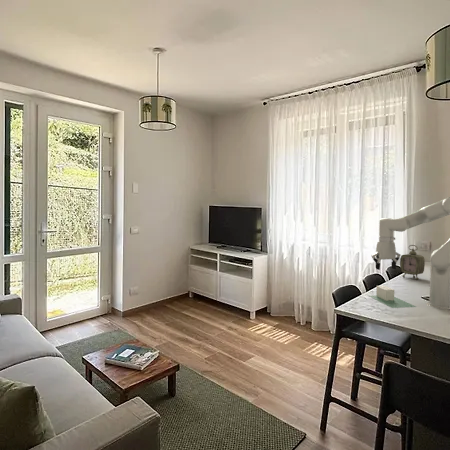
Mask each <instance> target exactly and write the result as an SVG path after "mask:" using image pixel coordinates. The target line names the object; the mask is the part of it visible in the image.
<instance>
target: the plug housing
mask: <svg viewBox="0 0 450 450" xmlns="http://www.w3.org/2000/svg"><path fill="white" fill-rule="evenodd" d="M375 295H376V296H378V297H380V298H382V299H384V300H386V301H388V300H394V297H395V289H393V288H391V287H390V286H389V287H388V286H386V285H376V293H375Z"/></svg>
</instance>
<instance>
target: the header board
mask: <svg viewBox="0 0 450 450" xmlns="http://www.w3.org/2000/svg"><path fill="white" fill-rule="evenodd" d="M369 297H370V298H372V299H374V300H376V301H378V302H380V303H382V304H383V305H386V306H387V307H389V308H392V309H394V308H395V309H396V308H397V309H398V308H416V307H417V306H416V305H413V304H412V303H409V302H407V301H406V300H405V301H404V300H402V299H400V298H398V297H395V296H394V300H388V301H386V300H384V299H382V298H380V297H378V296H376V294H375V295H374V294H373V295H369Z"/></svg>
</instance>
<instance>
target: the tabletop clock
mask: <svg viewBox="0 0 450 450" xmlns="http://www.w3.org/2000/svg"><path fill="white" fill-rule="evenodd" d="M412 246H413V247H416V249H414V248H410V247H412ZM408 250H409V253H405V254H401V256H400V258H399V269H400V272H401V273H402V277H403V278H405V275H411V276H412V277H413V279H415V280H417V281H418V280H419V278H418V275H421V274H424V272H425V265H426V264H425V263H426V262H425V257H424V256H423V255H421V254H418V253H417V252H416V251H417V250H418V246H417V245H414V244H410V245H409V246H408Z"/></svg>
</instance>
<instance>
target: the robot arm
mask: <svg viewBox="0 0 450 450" xmlns="http://www.w3.org/2000/svg"><path fill="white" fill-rule="evenodd" d="M447 216H450V197H446V198H444V199H441V200H438V201H437V202H434V203H431V204H429V205H427V206H424V207H422V208H420V209H418V210H416V211H415V212H412V213H410V214H409V213H408V214H407V215H405V216H403V217H402V216H401V217H399V218H389V217H385V218H384V217H383V218H380V219H379V221H378V222H379V223H378V224H379V225H378V226H379V227H378V228H379V229H378V231H379V232H378V234H379V236H378V237H379V238H378V239H379V240H378V241H377V244H376V248H375V253H372V254H371V258H372V261H374V262H375V269H376V270H377V271H381V270H380V269H381V263H380V262H381V260H382V261H383V260H391V269H393V270H396V269H397V263H398V261H400V259H401V256H402V254H400V253H399V252H397V251H396V250H397V248H396V243H395V242H394V241H395V240H396V237H394V233H395V232H399V233H400V232H401V233H402V232H405V231H407V230H409V229H412V228H414V227H418V226H419V225H424V224H428V223H430V222H433V221H436V220H439V219H442V218H444V217H447ZM447 239H448V240H447V241H446V242H445V243H444V244H442V245H441V246H440V247H439V248H437V249H434V251H432V252H431V254H430V257H429V258H430V259H429V260H430V261H429V262H430V274H429V276H430V277H429V301H428V302H426V303H425V304H426V305H427V306H429V307H432V308H437V309H443V310H444V309H445V310H449V311H450V237H449V238H447Z"/></svg>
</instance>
